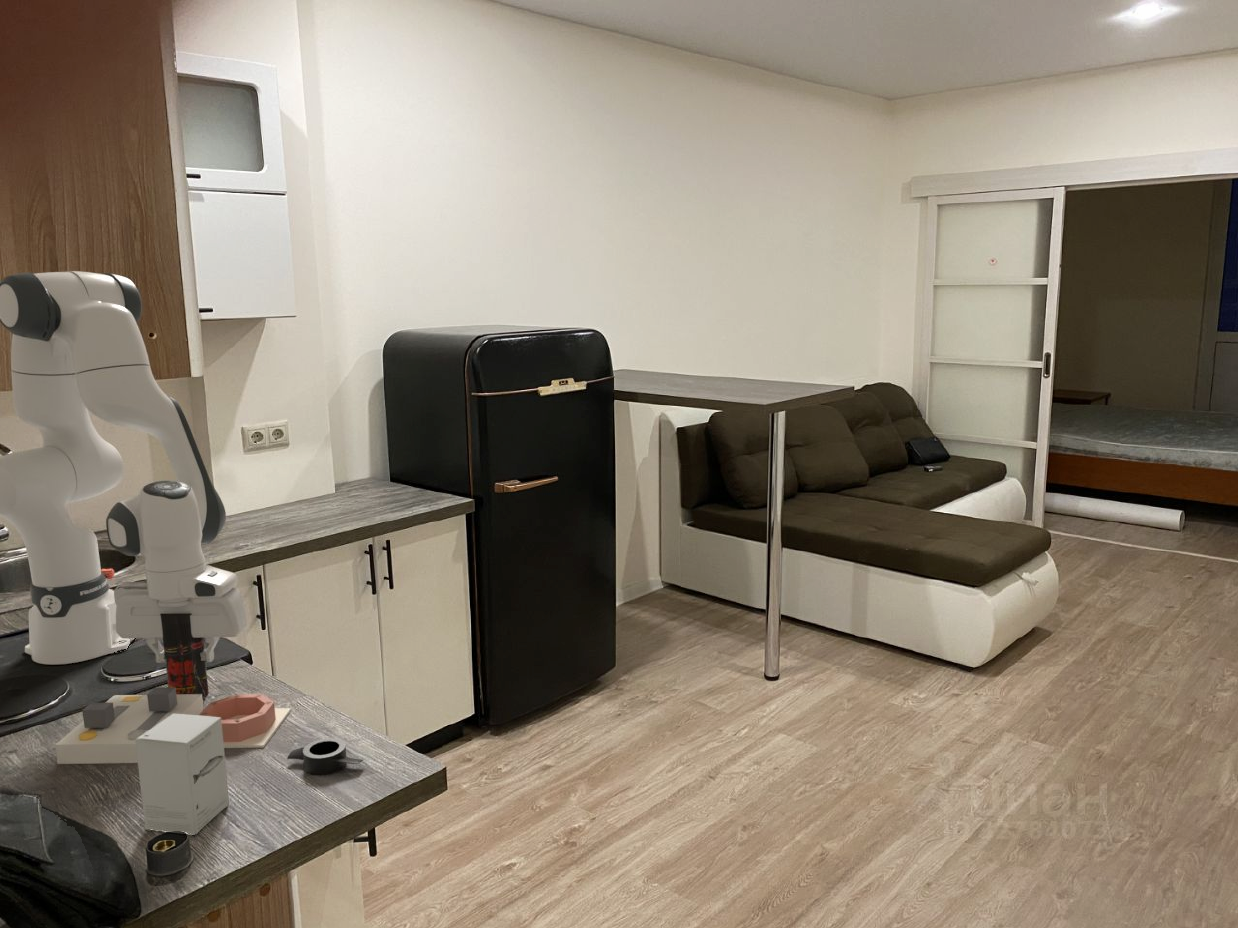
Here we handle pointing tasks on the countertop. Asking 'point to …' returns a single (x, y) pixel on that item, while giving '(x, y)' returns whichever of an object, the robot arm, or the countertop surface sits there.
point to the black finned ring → (323, 756)
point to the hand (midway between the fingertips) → (185, 660)
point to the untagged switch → (162, 699)
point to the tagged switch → (98, 715)
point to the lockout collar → (247, 719)
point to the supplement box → (182, 773)
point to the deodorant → (183, 655)
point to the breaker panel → (120, 730)
